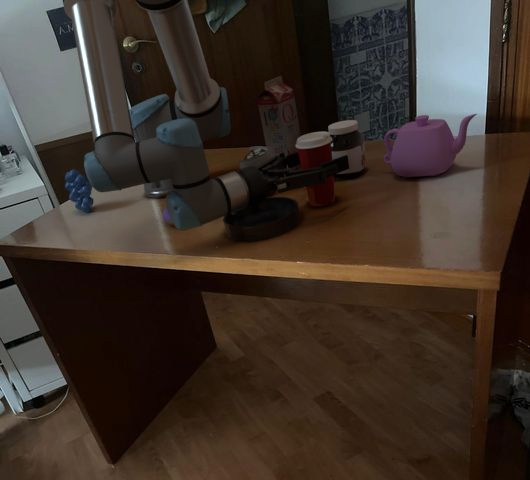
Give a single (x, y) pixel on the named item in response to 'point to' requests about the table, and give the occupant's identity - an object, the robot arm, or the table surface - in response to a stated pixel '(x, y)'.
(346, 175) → the spread jar
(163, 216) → the donut
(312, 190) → the paper cup
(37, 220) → the table surface
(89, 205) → the grapes
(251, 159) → the food container
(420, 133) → the teapot
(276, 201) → the pan
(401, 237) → the table surface
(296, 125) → the juice carton
